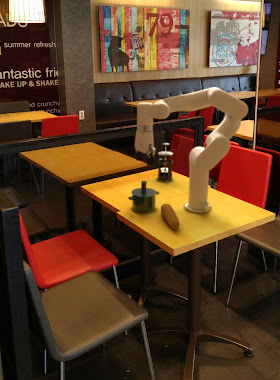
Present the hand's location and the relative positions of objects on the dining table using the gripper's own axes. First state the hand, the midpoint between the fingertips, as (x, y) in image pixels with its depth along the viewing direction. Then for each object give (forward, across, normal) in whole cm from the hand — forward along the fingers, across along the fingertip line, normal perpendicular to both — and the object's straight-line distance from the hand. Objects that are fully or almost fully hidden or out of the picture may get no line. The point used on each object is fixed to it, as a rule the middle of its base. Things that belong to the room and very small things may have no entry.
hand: (144, 162), depth 193 cm
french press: (+24, -32, +36) cm, 54 cm away
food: (+24, +19, +3) cm, 31 cm away
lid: (+16, 0, 0) cm, 16 cm away
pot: (+24, 0, 0) cm, 24 cm away
